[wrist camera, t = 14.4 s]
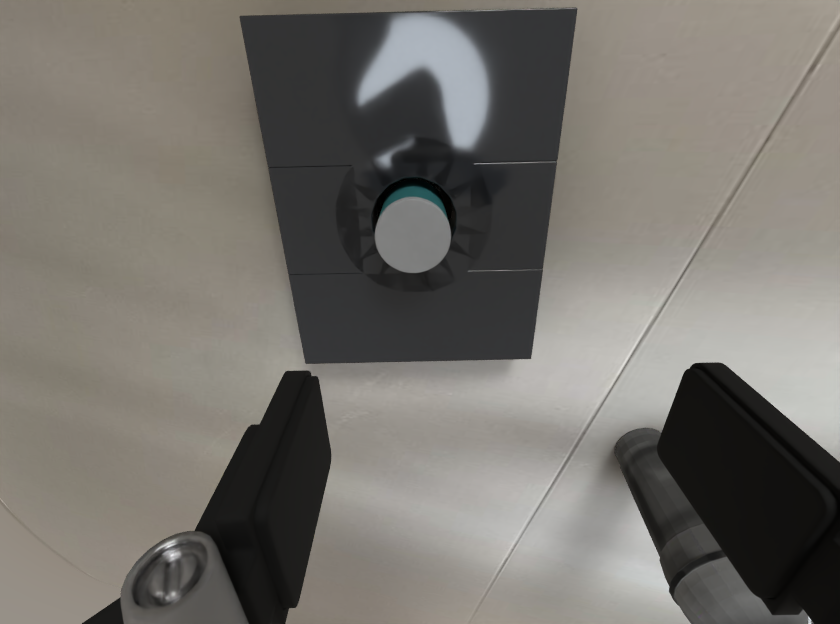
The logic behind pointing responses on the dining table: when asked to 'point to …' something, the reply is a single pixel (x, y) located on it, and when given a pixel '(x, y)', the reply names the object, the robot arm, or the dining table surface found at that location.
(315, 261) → the dark box with hole
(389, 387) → the dining table surface
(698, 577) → the beverage cup
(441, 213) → the stopper
